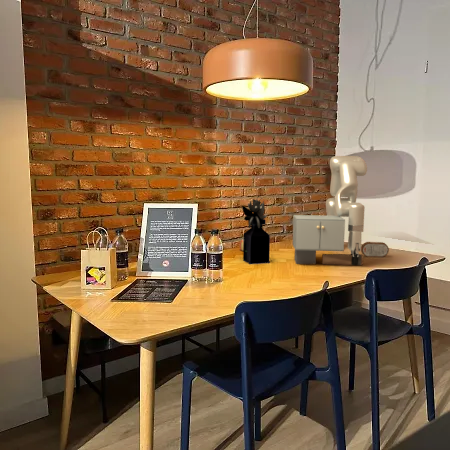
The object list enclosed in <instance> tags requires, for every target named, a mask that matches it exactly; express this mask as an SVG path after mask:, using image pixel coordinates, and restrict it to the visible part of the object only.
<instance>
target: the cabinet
mask: <svg viewBox="0 0 450 450" xmlns="http://www.w3.org/2000/svg"><path fill="white" fill-rule="evenodd" d="M292 217H293V219H292V246H293V248H294V262H295V265H296V264H297V265H298V264H299V265H316V263H317V261H316V259H317V252H344V249H345V229H346V219H345V218H344V217H340V216H327V215H314V214H313V215H312V214H309V215H307V214H305V215H304V214H294V215H293V216H292Z"/></svg>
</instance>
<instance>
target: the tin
mask: <svg viewBox="0 0 450 450" xmlns="http://www.w3.org/2000/svg"><path fill="white" fill-rule="evenodd" d="M389 251H390V248H389V246H388V245H387V244H386V243H385V242H383V241H366V242H364V243H363V244H361V251H360V252H361V254H362V255H363V256H365V257H366V258H368V257H369V258H384V257H386V256H387V255H388V254H389Z"/></svg>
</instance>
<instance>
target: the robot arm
mask: <svg viewBox="0 0 450 450" xmlns="http://www.w3.org/2000/svg"><path fill="white" fill-rule="evenodd" d="M329 168H330V171H331V177H330V178H331V179H330V188H329V194H330V196H332V197H331V198H330V197H329V198H327V200H326V201H325V208H326V209H325V211H326V216H340V217H341V218H345V217H346V218H348V220H347V221H348V222H347V224H348V225H347V231H348V240H347V249H348V250H349V251H350V254H352V262H351V264H352V265H351V266H359V265H358V254H360V253H359V252H361V246H362V233H363V232H364V230H365V229H364V227H365V226H364V224H365V210H366V209H365V205H364V204H362V203H361V202H357V196H358V187H359V183H358V177H364V176H366V174H367V171H368V167H367V163H366V161H365V160H364V159H363V158H362V157H360V156H359V155H358V156H357V155H352V156H351V155H335V156H331V158H329Z"/></svg>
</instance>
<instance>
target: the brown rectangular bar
mask: <svg viewBox="0 0 450 450" xmlns="http://www.w3.org/2000/svg"><path fill="white" fill-rule="evenodd" d="M321 260H322V261H321V262H322V265H339V266H340V265H343V266H344V265H346V266H347V265H349V266H353V265H352V264H351V262H352V254H351V253H349V254H348V253H346V254H345V253H339V254H338V253H322V259H321ZM363 261H364V255H363V254H362V253H359V254H358V265H357V266H361V265H363V264H364V263H363Z"/></svg>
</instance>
